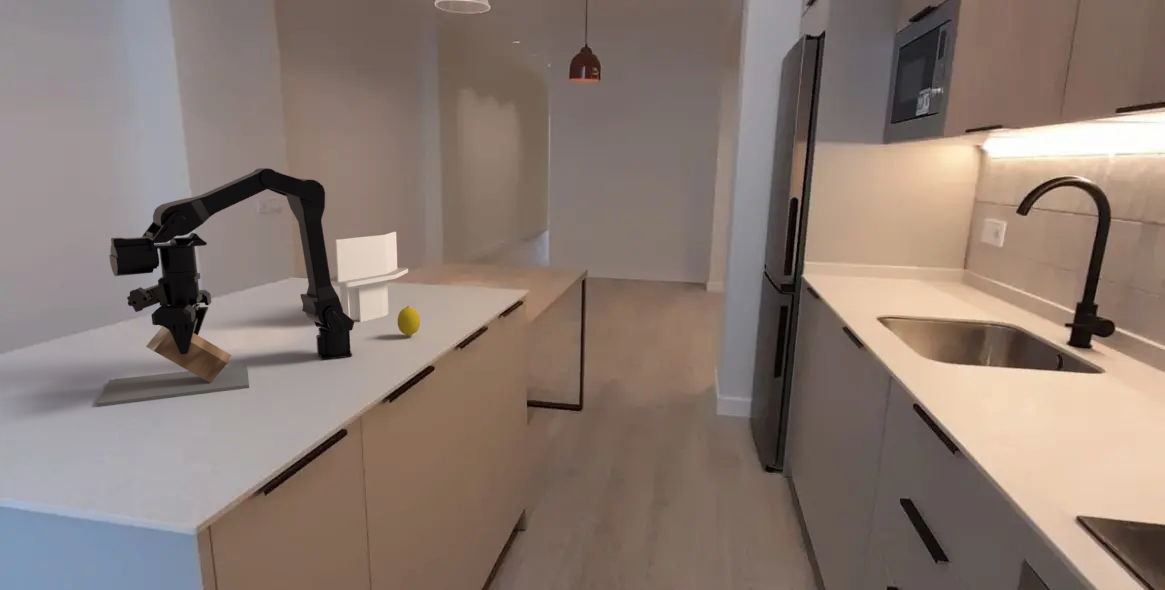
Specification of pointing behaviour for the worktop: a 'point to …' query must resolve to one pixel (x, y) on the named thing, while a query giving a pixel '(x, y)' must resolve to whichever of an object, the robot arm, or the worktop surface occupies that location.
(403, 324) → the lemon
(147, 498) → the worktop surface
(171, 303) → the robot arm
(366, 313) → the architectural model
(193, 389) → the slate mat
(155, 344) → the walnut block
